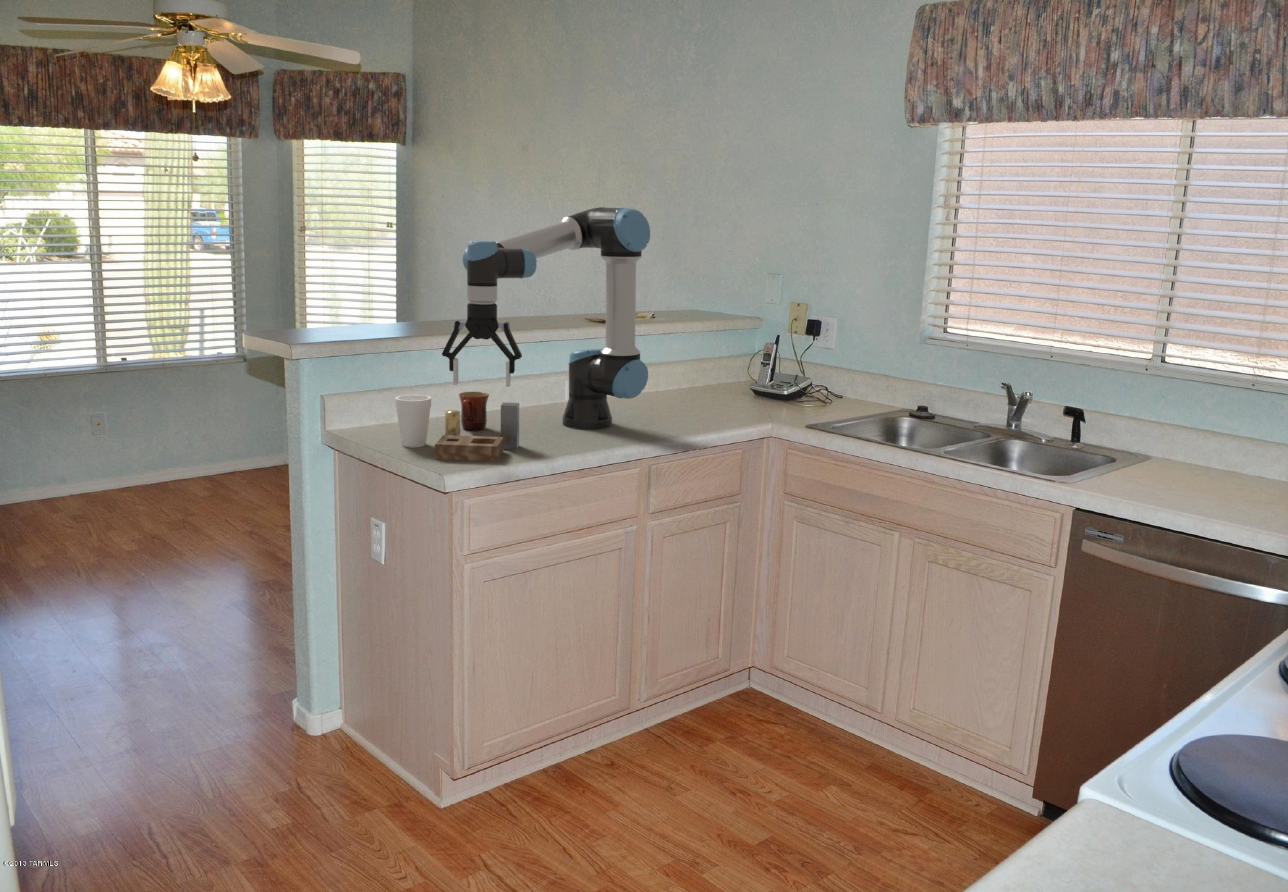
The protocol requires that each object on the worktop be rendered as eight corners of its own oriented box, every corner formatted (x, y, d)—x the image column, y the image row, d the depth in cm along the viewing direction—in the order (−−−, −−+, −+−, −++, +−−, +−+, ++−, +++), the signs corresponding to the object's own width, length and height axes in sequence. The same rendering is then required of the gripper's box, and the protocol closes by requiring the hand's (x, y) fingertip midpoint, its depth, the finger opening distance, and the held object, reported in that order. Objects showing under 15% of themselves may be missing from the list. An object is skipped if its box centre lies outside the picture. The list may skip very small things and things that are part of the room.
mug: (465, 424, 310) (465, 390, 308) (493, 426, 308) (493, 392, 306) (450, 432, 299) (449, 397, 296) (478, 434, 297) (478, 399, 295)
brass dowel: (461, 442, 287) (461, 410, 285) (458, 445, 283) (458, 413, 281) (446, 441, 287) (446, 409, 285) (444, 445, 283) (443, 412, 281)
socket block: (503, 451, 278) (503, 437, 277) (497, 461, 267) (497, 446, 266) (443, 449, 278) (443, 435, 277) (435, 459, 267) (435, 444, 266)
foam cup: (399, 440, 286) (398, 394, 283) (433, 441, 287) (432, 395, 284) (394, 448, 277) (393, 400, 274) (429, 449, 278) (428, 401, 275)
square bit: (518, 445, 285) (519, 403, 282) (516, 449, 281) (517, 406, 278) (502, 445, 285) (503, 402, 282) (500, 448, 281) (500, 405, 278)
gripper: (532, 303, 267) (531, 384, 272) (436, 299, 267) (437, 380, 272) (529, 305, 260) (528, 389, 264) (430, 302, 260) (430, 385, 265)
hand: (482, 385), depth 268 cm, fingers open, 13 cm apart
